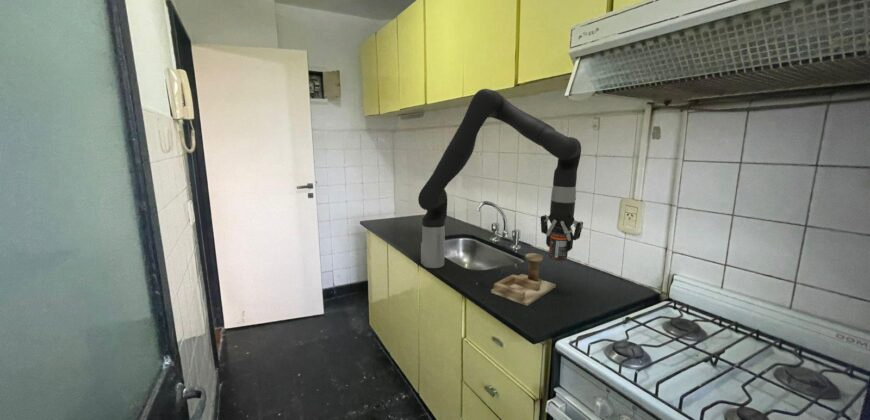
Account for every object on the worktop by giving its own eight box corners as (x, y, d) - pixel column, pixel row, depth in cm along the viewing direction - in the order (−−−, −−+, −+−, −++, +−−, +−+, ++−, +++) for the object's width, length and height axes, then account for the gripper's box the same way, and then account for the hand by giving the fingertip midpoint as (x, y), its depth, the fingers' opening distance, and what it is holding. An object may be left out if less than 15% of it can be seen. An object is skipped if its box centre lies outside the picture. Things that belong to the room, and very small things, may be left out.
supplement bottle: (546, 255, 123) (549, 223, 120) (564, 255, 122) (566, 224, 120) (551, 261, 117) (553, 228, 114) (569, 261, 117) (572, 228, 114)
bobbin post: (521, 282, 128) (522, 256, 126) (529, 277, 133) (531, 252, 131) (536, 287, 124) (537, 260, 122) (544, 282, 129) (546, 255, 126)
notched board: (490, 292, 122) (491, 283, 122) (521, 276, 136) (521, 267, 136) (526, 306, 113) (527, 295, 112) (555, 286, 127) (556, 277, 126)
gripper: (537, 198, 117) (533, 246, 121) (580, 204, 108) (575, 256, 111) (547, 195, 123) (544, 241, 126) (589, 201, 113) (584, 250, 117)
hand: (558, 248), depth 119 cm, fingers closed on supplement bottle, 6 cm apart
